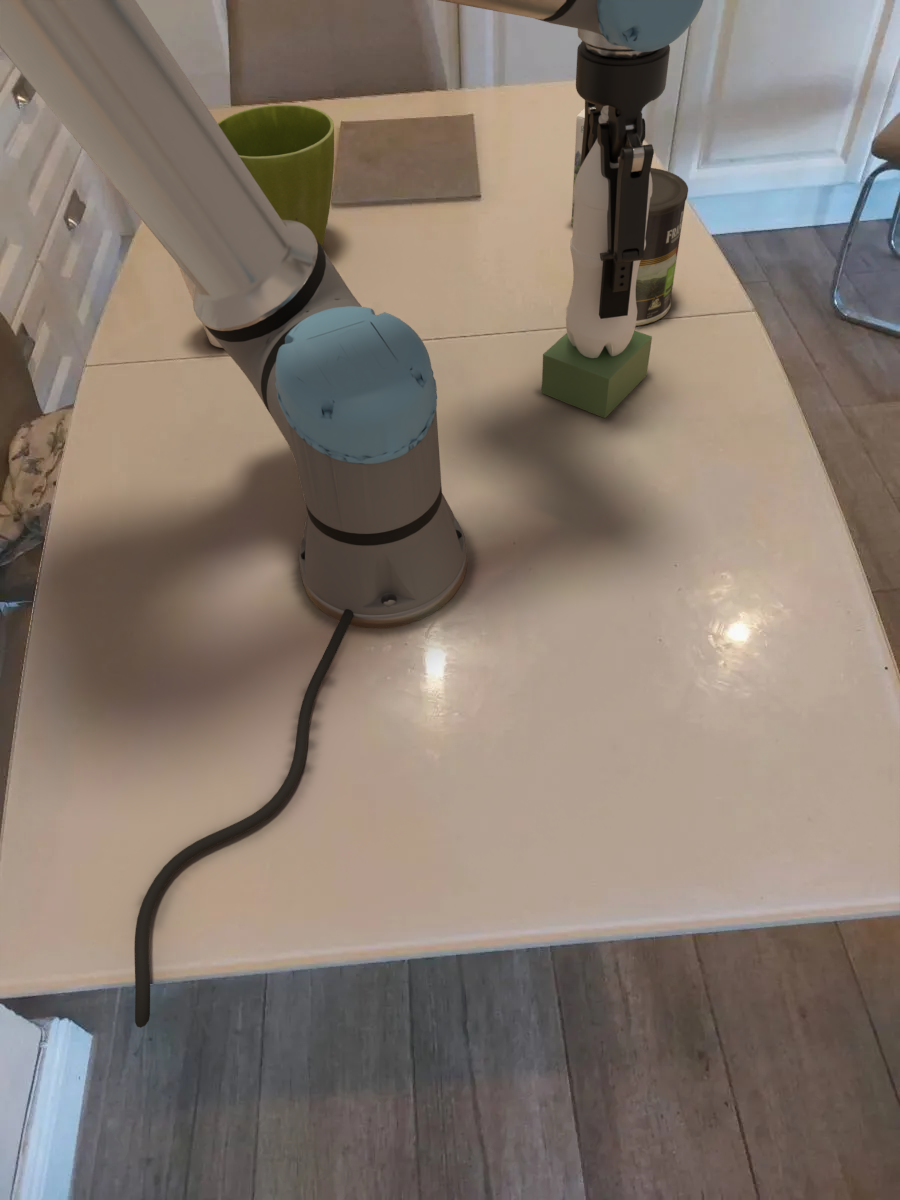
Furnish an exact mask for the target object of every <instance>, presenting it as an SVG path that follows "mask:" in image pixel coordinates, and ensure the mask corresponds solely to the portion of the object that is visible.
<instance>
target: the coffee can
mask: <svg viewBox="0 0 900 1200" xmlns="http://www.w3.org/2000/svg"><path fill="white" fill-rule="evenodd" d="M650 173H651V177H652V196H651V198H650V204H649V212H648V220H647V228H646V236H645V240H646V247H645V249H644V256H643V260H641V261H640V264H639V268H638V273H637V279H636V305H637V319H636V326H635V327H638V326H644V325H648V324H651V323H654V322H657V321H658V320H660V319H662V318H663V317H664V316H666V315H667V314H668V312H669V311H670V309H671V306H672V301H671V300H672V294H673V286H674V279H675V274H676V267H677V259H678V253H679V247H680V239H681V232H682V227H683V219H684V214H685V206H686V201H687V199H688V195H689V186H688V184H687V182H686V181H685V180H684V179H683V178H682V177H680V176H679V175H677V174H675V173H673V172H670V171H668V170H664V169H661V168H656V167H651V169H650Z"/></svg>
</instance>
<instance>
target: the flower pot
mask: <svg viewBox="0 0 900 1200" xmlns="http://www.w3.org/2000/svg"><path fill="white" fill-rule="evenodd" d="M217 123H218V125H219V126H220V128H221V129H222V131H223V133H224V134H225V136H226V137H227V139H228V140H229V142H230V143H231V145H232V146H233V148H234V149H235V151H236V152H237V154H238V155H239V157H240V158H241V160H242V161H243V163H244V164H245V166H246V167H247V169H248V170H249V172H250V173H251V175H252V176H253V178H254V179H255V181H256V182H257V184H258V185H259V187H260V188H261V190H262V191H263V193H264V194H265V196H266V197H267V199H268V200H269V202H270V203H271V205H272V206H273V208H274V209H275V211H276V212H277V214H278V215H279V217H280V218H281V220H293V221H297V222H300V223H302V224H304V225H305V226H307V227H308V228H309V229H310V230H311V231H312V233H313V234H314V236H315V237H316V239H317V240H318V242H319V243H320V245H321V246H322V247H323V246H324V241H325V237H326V231H327V226H328V221H329V215H330V214H329V213H330V207H331V200H332V190H333V179H334V167H335V123H334V120H333V118H332V117H331V116H330V115H329V114H327V113H326V112H325V111H322V110H321V109H319V108H315V107H311V106H307V105H301V104H269V105H262V106H256V107H251V108H248V109H244V110H241V111H238V112H235V113H232V114H231V115H228V116H226V117H225V118H223V119H222V120H220V121H219V122H217Z"/></svg>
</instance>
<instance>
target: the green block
mask: <svg viewBox="0 0 900 1200" xmlns="http://www.w3.org/2000/svg"><path fill="white" fill-rule="evenodd" d="M652 339H653V336H652V335H649V334H646V333H643V332H640V331H637V330H634V333H633V336H632V338H631V340H630V342H629V344H628V345H627V347H626V348H625V349H624V350H623V352H621V353H620V354H618V355H617V356H611V355H610V354H609V353H608V351H607V349H606V347H605V346H604V348H603V350H602V352H601V353H600V355H599V356H598V358H588V357H585V356H583V355H582V354H581V353H580V352H579V351H578V349H577V347H576V346H573V345H572V343H571V342H570V340H569V338H568V335H567V332H565V334H564V335H562V336H561V338H559V339H558V340H557V341H556V342H555V343H554V344H553V345H551V346H550V347H549V348H548V349H547V350H546V351H545V352H544V353H543V354H542V369H541V370H542V373H541V394H543V395H545V396H548V397H551V398H552V399H553V398H554V399H555V400H558V401H560V402H563V403H566V404H568V405H571V406H573V407H575V408H578V409H581V410H583V411H585V412H588V413H591V414H593V415H596V416H598V417H601V418H603V419H606V418H607V417H608V416H609V415H610V414H611V413H612V412H613V411H614V410H615V409H616V408H617V407H618V406H619V405H620V403H622V401H623V400H624V399H626V397H628V396H629V394H630V393H631V392H632V391H633V390H635V389H636V387H637V386H638V385H639V384H640V383H641V382H642V381H643V380H644V379H645V378H646V377H647V376H648V369H649V361H650V356H651V355H650V354H651V348H652V341H653V340H652Z"/></svg>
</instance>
